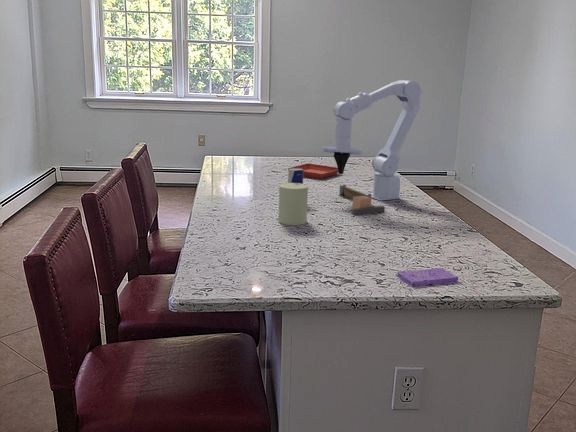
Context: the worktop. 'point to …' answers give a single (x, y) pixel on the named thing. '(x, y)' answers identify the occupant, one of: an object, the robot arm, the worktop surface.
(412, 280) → the sponges
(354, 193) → the brown long flat bar
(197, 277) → the worktop surface
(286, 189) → the can
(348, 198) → the frame
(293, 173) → the energy drink
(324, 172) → the plant saucer
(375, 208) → the kerb
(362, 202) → the block
